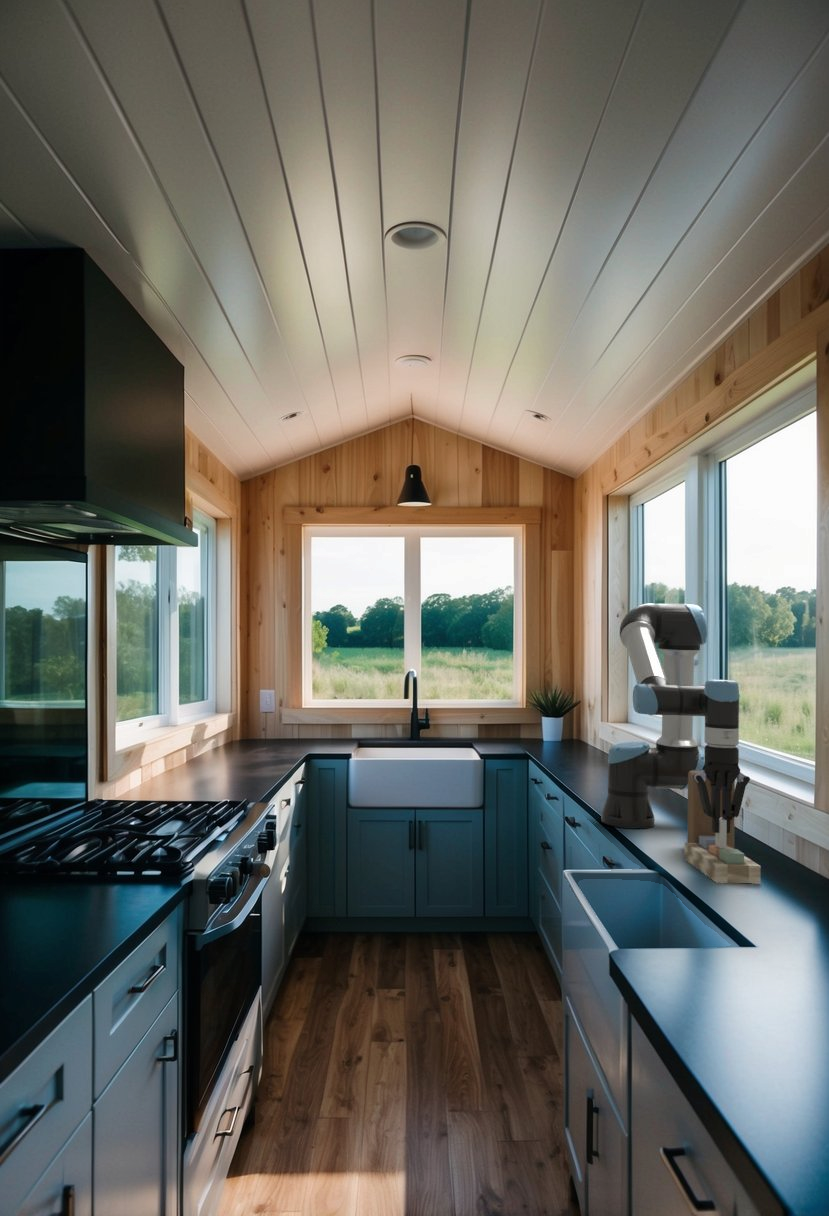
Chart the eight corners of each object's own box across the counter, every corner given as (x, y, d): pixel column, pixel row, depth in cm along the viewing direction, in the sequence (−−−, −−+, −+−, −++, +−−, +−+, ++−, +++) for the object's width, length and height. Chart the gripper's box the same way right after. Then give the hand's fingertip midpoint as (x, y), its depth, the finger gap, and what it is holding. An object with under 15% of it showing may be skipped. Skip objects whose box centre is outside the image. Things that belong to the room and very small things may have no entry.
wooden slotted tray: (684, 859, 192) (684, 842, 192) (724, 859, 192) (724, 843, 193) (715, 883, 173) (716, 865, 173) (760, 884, 173) (760, 865, 174)
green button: (719, 866, 179) (719, 848, 179) (736, 866, 179) (736, 849, 179) (726, 871, 175) (726, 853, 175) (744, 871, 175) (744, 853, 175)
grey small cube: (698, 852, 191) (699, 835, 191) (715, 852, 191) (715, 835, 191) (705, 856, 187) (705, 839, 187) (721, 856, 187) (722, 839, 187)
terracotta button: (708, 862, 185) (708, 845, 185) (725, 862, 185) (725, 845, 185) (715, 867, 181) (715, 849, 181) (732, 867, 181) (732, 850, 181)
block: (734, 859, 193) (735, 778, 194) (692, 856, 195) (693, 775, 196) (727, 849, 203) (727, 771, 204) (686, 846, 205) (687, 769, 206)
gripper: (700, 747, 180) (699, 850, 179) (756, 748, 180) (755, 851, 179) (688, 742, 188) (687, 842, 186) (741, 744, 188) (741, 843, 187)
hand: (720, 846), depth 183 cm, fingers closed
